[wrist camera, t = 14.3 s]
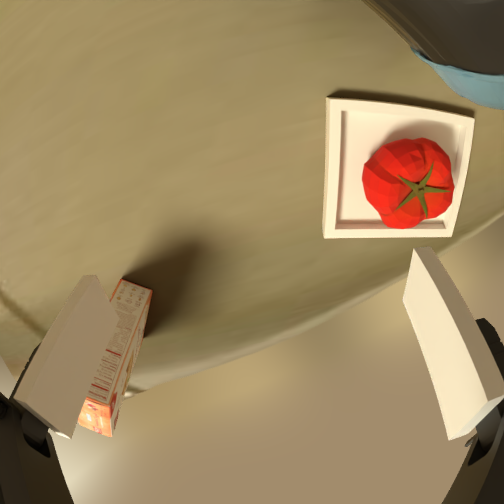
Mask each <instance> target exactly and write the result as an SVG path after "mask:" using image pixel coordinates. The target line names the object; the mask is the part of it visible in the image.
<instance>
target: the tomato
mask: <svg viewBox="0 0 504 504" xmlns="http://www.w3.org/2000/svg"><path fill="white" fill-rule="evenodd" d="M362 183H363V188H364V193H365V196H366V199H367V201H368V202H369V203H370V204H371V205H372V206H373V207H374V208H375V209H376V211H377V212H378V213H379V215H380V217H381V219H382V221H383V223H384V224H385V225H386V226H387V227H390V228H395V229H407V228H412V227H415V226H416V225H417V224H419V223H420V222H421V221H423V220H425V219H432V218H436V217H438V216H439V215H441V214H443V213H444V212H446V210H447V209H448V208H449V206H450V205H451V204H452V200H453V192H454V188H455V186H454V182H453V178H452V174H451V162H450V158H449V156H448V155H447V154H446V153H445V151H444V150H443V149H442V148H441V147H440V146H439V145H438V144H437V143H436V142H434V141H432V140H429V139H427V138H423V137H422V138H417V139H413V140H412V139H408V138H405V139H400V140H396V141H393V142H390V143H388V144H385V145H383V146H381V147H380V148H379V150H378V151H377V152H376V153H375V154H374V155H373V156H372V157H371V158H370V159H369V160H368V161H367V162H366V163H364V167H363V173H362Z"/></svg>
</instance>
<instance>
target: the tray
mask: <svg viewBox="0 0 504 504" xmlns="http://www.w3.org/2000/svg"><path fill="white" fill-rule="evenodd" d="M474 120H475V119H474V118H471V117H469V116H466V115H462V114H457V113H453V112H448V111H443V110H438V109H432V108H427V107H421V106H414V105H407V104H400V103H393V102H384V101H375V100H364V99H351V98H333V97H326V156H325V185H324V205H323V222H322V232H323V235H324V238H376V237H451V236H452V232H453V229H454V225H455V222H456V218H457V214H458V210H459V206H460V202H461V198H462V193H463V189H464V184H465V179H466V174H467V169H468V163H469V157H470V151H471V144H472V137H473V129H474ZM422 137H423V138H427V139H429V140H432V141H434V142H436V143H437V144H438V145H439V146H440V147H441V148H442V149H443V150H444V151H445V153H446V154H447V155H448V156H449V158H450V162H451V174H452V178H453V182H454V186H455V188H454V192H453V200H452V204H451V205H450V206H449V208H448V209H447V210H446V212H444V213H443V214H441V215H439V216H438V217H436V218H432V219H425V220H423V221H421V222H420V223H419V224H417V225H416V226H415V227H412V228H407V229H395V228H390V227H387V226H386V225H385V224H384V223H383V221H382V219H381V217H380V215H379V213H378V212H377V211H376V209H375V208H374V207H373V206H372V205H371V204H370V203H369V202H368V201H367V199H366V196H365V193H364V188H363V183H362V173H363V167H364V163H366V162H367V161H368V160H369V159H370V158H371V157H372V156H373V155H374V154H375V153H376V152H377V151H378V150H379V148H380V147H381V146H383V145H385V144H388V143H390V142H393V141H396V140H400V139H405V138H408V139H412V140H413V139H417V138H422Z"/></svg>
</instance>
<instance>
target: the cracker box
mask: <svg viewBox="0 0 504 504" xmlns="http://www.w3.org/2000/svg"><path fill="white" fill-rule="evenodd" d="M152 292H153V290H151V289H148V288H145V287H142V286H139V285H137V284H134V283H131V282H129V281H126V280H123V279H120V281H119V283H118V285H117V287H116V289H115V290H114V292H113V294H112V296H111V298H110V300H109V301H110V303H111V304H112V306H113V308H114V310H115V311H116V313H117V315H118V317H119V318H120V319H119V321H118V323H117V326H116V328H115V330H114V332H113V334H112V337H111V339H110V341H109V343H108V346H107V348H106V350H105V353H104V355H103V357H102V360H101V362H100V364H99V367H98V369H97V372H96V374H95V376H94V379H93V381H92V384H91V386H90V389H89V392H88V394H87V397H86V399H85V402H84V405H83V407H82V410H81V413H80V415H79V418H78V421H79V424H80V425H82V426H84V427H86V428H89V429H91V430H94V431H96V432H98V433H100V434H103V435H106V436H110V437H112V436H113V433H114V429H115V426H116V422H117V419H118V415H119V411H120V408H121V405H122V402H123V398H124V395H125V392H126V389H127V386H128V382H129V379H130V376H131V373H132V370H133V367H134V364H135V361H136V358H137V355H138V352H139V349H140V347H141V344H142V341H143V335H144V330H145V325H146V320H147V315H148V310H149V306H150V301H151V297H152Z"/></svg>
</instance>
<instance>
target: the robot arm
mask: <svg viewBox="0 0 504 504" xmlns="http://www.w3.org/2000/svg"><path fill="white" fill-rule="evenodd" d="M362 1H363V2H364V3H365V4H366V5H368V6H369V7H370V8H371V9H372V10H373V11H375V12H376V13H377V14H378V15H379V16H380V17H381V18H382V19H384V20H385V21H386V22H387V23H388V24H389V25H390V26H391V27H392V28H393V29H394V30H395V31H396V32H397V33H398V34H399V35H400V36H401V37H402V38H403V39H404V40H405V41H406V42H407V43H408V44H409V45H410V47H411V50H412V51H413V52H414V53H415V54H416V55H417V57H419V58H420V59H421V60H422V61H424V62H426V63H427V64H429V65H430V66H431V67H432V68H433V69H434V71H435V72H436V73H437V74H438V75H439V76H440V77H441V78H442V79H443V81H444V82H445V83H446V84H447V85H448V86H449V87H450V88H451V89H452V90H453V91H454V92H456V93H457V94H458V95H460V96H462V97H465V98H467V99H469V100H470V101H472V102H474V103H476V104H478V105H481V106H485V107H489V108H493V109H500V110H504V0H362ZM403 303H404V305H405V308H406V310H407V313H408V315H409V318H410V320H411V323H412V325H413V328H414V330H415V333H416V336H417V338H418V341H419V344H420V347H421V349H422V352H423V355H424V358H425V361H426V363H427V366H428V369H429V372H430V376H431V379H432V382H433V385H434V388H435V391H436V395H437V398H438V401H439V405H440V408H441V412H442V416H443V419H444V423H445V427H446V431H447V435H448V439H449V440H451V439H454V438H457V437H460V436H463V435H465V434H468V433H469V432H470V431H471V430H472V429H473V428H474V427H475V426H476V430H477V434H475V435H474V436H473V437H472V438H471V439H470V440H468V441H467V443H466V444H465V447H468V446H469V445H470V444H471V443H472V444H471V447H470V449H469V451H468V454H467V456H466V458H465V460H464V462H463V464H462V467H461V469H460V471H459V473H458V475H457V477H456V479H455V481H454V483H453V484H452V487H451V488H450V490H449V492H448V494H447V495H446V497H445V499H444V501H443V502H442V504H504V346H503V344H502V342H500V338H499V336H498V334H497V332H496V331H495V328H494V327H493V326H492V325H491V324H490V323H489V322H488V321H487V320H486V319H485V318H482V319H477V320H475V319H474V318H473V316H472V314H471V312H470V310H469V308H468V306H467V305H466V303H465V301H464V300H463V298H462V296H461V294H460V293H459V291H458V289H457V288H456V286H455V284H454V283H453V281H452V279H451V278H450V276H449V275H448V273H447V271H446V270H445V268H444V267H443V265H442V264H441V262H440V260H439V259H438V257H437V256H436V254H435V253H434V251H433V250H432V248H431V247H421V248H414V249H413V255H412V260H411V265H410V270H409V275H408V279H407V284H406V288H405V292H404V296H403ZM119 319H120V318H119V317H118V315H117V313H116V311H115V310H114V308H113V306H112V304H111V303H110V301H109V299H108V297H107V295H106V293H105V292H104V290H103V288H102V286H101V284H100V282H99V280H98V278H97V276H96V275H85V276H83V277H82V278H81V280H80V281H79V283H78V284H77V286H76V287H75V289H74V290H73V292H72V293H71V295H70V296H69V298H68V299H67V301H66V303H65V304H64V306H63V307H62V309H61V310H60V312H59V314H58V315H57V317H56V319H55V320H54V322H53V324H52V325H51V327H50V329H49V330H48V332H47V334H46V336H45V337H44V339H43V341H42V342H41V343H40V344H39V345H38V346H37V347H36V348H35V349H34V351H33V353H32V354H31V356H30V358H29V362H27V364H26V366H25V370H23V371H22V373H21V375H20V377H19V379H18V381H17V383H16V386H15V388H14V390H13V392H12V394H11V396H10V398H9V399H7V398H6V397H5V396H4V395H3V394H2V393H1V392H0V504H74V502H73V500H72V497H71V495H70V492H69V490H68V487H67V484H66V482H65V479H64V476H63V473H62V470H61V467H60V464H59V460H58V457H57V454H56V450H55V447H54V443H53V440H52V437H51V435H50V433H48V429H49V428H50V429H51V430H53V431H54V432H55V433H57V434H59V435H61V436H64V437H67V438H70V439H71V438H72V435H73V432H74V430H75V427H76V424H77V421H78V418H79V415H80V413H81V410H82V407H83V405H84V402H85V399H86V397H87V394H88V392H89V389H90V386H91V384H92V381H93V379H94V376H95V374H96V372H97V369H98V367H99V364H100V362H101V360H102V357H103V355H104V353H105V350H106V348H107V346H108V343H109V341H110V339H111V337H112V334H113V332H114V330H115V328H116V326H117V323H118V321H119Z"/></svg>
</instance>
